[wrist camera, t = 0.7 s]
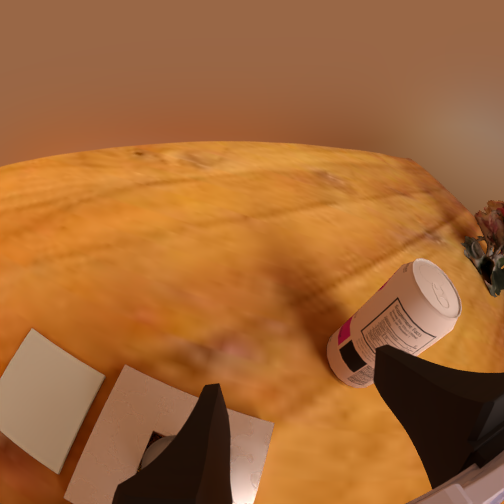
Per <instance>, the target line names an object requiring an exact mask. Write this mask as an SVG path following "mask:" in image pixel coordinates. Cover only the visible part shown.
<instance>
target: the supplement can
mask: <svg viewBox="0 0 504 504" xmlns="http://www.w3.org/2000/svg"><path fill="white" fill-rule="evenodd" d="M461 310H462V306H461V300H460V297H459V295H458V292H457V290H456V288H455V286H454V285H453V283H452V281H451V280H450V279H449V278H448V276H447V275H446V274H445V273H444V272H443V271H442V270H441V269H440V268H439V267H438V266H437V265H435V264H434V263H432V262H431V261H429V260H426V259H423V258H420V259H416V260H415V261H413V262H410V263H407V264H403V265H402V266H401V267H400V268H399V269H398V270H397V271H396V272H395V273H394V275H393V276H392V277H391V278H390V279H389V280H388V281H387V282H386V283H385V284H384V285H383V286H382V287H381V288H380V289H379V290H378V291H377V292H376V293H375V294H374V295H373V296H372V297H371V298H370V299H369V300H368V301H367V302H366V303H365V304H364V305H363V306H362V307H361V308H360V309H359V310H358V311H357V312H356V313H355V314H354V315H353V316H352V317H351V318H350V319H349V320H348V321H347V322H345V323H344V324H343V325H342V326H341V327H340V328H339V329H338V330H337V331H336V332H335V333H334V334H333V335H332V336H331V337H330V339H329V341H328V344H327V358H328V361H329V364H330V367H331V369H332V370H333V372H334V373H335V374H336V376H337V377H338V378H339V379H340V380H341V381H343V382H344V383H345V384H347V385H349V386H352V387H355V388H364V387H367V386H369V385H371V384H373V383H374V382H373V379H374V367H375V353H376V348H377V347H380V346H383V345H386V344H387V345H390V346H393V347H395V348H398V349H400V350H402V351H404V352H407V353H409V354H411V355H414V356H417V355H419V354H420V353H422V352H423V351H424V350H426V349H427V348H429V347H430V346H431V345H433V344H434V343H435V342H437V341H438V340H440V339H441V338H442V337H443V336H445V335H446V334H447V333H449V332H450V331H451V330H453V328H454V325H455V323H456V321H457V318H458V317H459V316H460V314H461Z"/></svg>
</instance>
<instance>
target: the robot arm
mask: <svg viewBox="0 0 504 504" xmlns="http://www.w3.org/2000/svg"><path fill="white" fill-rule="evenodd" d="M373 382H374V384H375V386H376V388H377V390H378V391H379V393H380V395H381V397H382V398H383V400H384V401H385V403H386V404H387V405H388V407H389V408H390V409H391V411H392V412H393V413H394V415H395V416H396V417H397V419H398V420H399V422H400V423H401V424H402V426H403V427H404V429H405V430H406V432H407V433H408V435H409V437H410V439H411V440H412V442H413V444H414V446H415V448H416V450H417V452H418V454H419V456H420V459H421V461H422V463H423V465H424V468H425V470H426V473H427V475H428V478H429V481H430V484H431V487H432V490H431V491H429V492H428V493H426V494H424V495H422V496H420V497H418V498H416V499H414V500H412V501H410V502H408V503H406V504H500V503H501V502H502V501H503V500H504V373H477V372H469V371H462V370H457V369H452V368H448V367H444V366H441V365H438V364H435V363H432V362H429V361H426V360H424V359H421V358H419V357H416V356H414V355H411V354H409V353H407V352H404V351H402V350H400V349H398V348H395V347H393V346H390V345H387V344H386V345H383V346H380V347H377V348H376V353H375V367H374V379H373ZM230 447H231V432H230V423H229V415H228V412H227V408H226V405H225V402H224V398H223V395H222V391H221V388H220V384H219V383H218V384H210V385H205V386H204V388H203V390H202V392H201V394H200V397H199V399H198V401H197V403H196V405H195V407H194V408H193V410H192V412H191V414H190V416H189V417H188V419H187V421H186V422H185V424H184V425H183V427H182V428H181V430H180V431H179V432H178V434H177V435H176V436H175V438H174V439H173V440H172V441H171V443H170V444H169V445H168V446H167V447H166V448H165V449H164V450H163V451H162V452H161V454H160V455H159V456H157V457H156V458H155V459H154V460H153V461H152V462H151V463H150V464H148V465H147V466H146V467H145V468H143V469H142V470H141V471H139V472H138V473H136V474H135V475H133V476H132V477H130V478H129V479H127V480H125V481H124V482H122V483H120V484H118V486H117V488H116V491H115V493H114V496H113V500H112V504H233V499H232V490H231V482H230Z"/></svg>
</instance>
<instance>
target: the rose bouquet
mask: <svg viewBox="0 0 504 504" xmlns="http://www.w3.org/2000/svg"><path fill="white" fill-rule="evenodd" d="M487 204H488V207H485V208H484V210H485V211H486V213H487V214H486V213H484V212H481V211H479V212H478V213H476V214H475V216H474V217H475V219H476V220H477V222H478V223H477V224H478V225H479V226H480V229H481V231H482V233H483V235H484V236H483V237H482V236H478V238H479V239H477V240H476V239H475V238H473V237H472V238H469V237H467V236H465V243H461V244H462V245H463V246H464V247H465V248H466V250H464V254H465V255H466V257H468V258H470V259H471V260H472V261H473V263H474V264H475V266H476V268H477V270H478V271H479V273H480V274H482V273H481V269H480V267H483V266H485V267H486V266H487V267H488V268H489V270H490V272H491V274H490V275H491V277H490V279H491V285H492V286H491V285H489V283H488V282H487V281H485V282H486V284H487V286H488V288H489V290H490V293H491V295H492V296H494V297H497V296H496V295H495V293H496V294H497V295H500V292H501V291H500V290H502V289H504V268H503V269H501V267H502V266H503V265H504V256H503V254H504V202H503V201H492V200H490V201H488V203H487ZM482 240H485V241H486V243H487V252H486V255H485V253H484V252H483V250H482V248H481V246H480V244H479V243H478V241H482ZM493 247H494V252H493V251H492V249H493ZM500 250H501V252H500V253H499V254H498V252H499V251H500ZM466 252H467V253H468V254H467V253H466Z"/></svg>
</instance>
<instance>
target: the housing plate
mask: <svg viewBox="0 0 504 504" xmlns="http://www.w3.org/2000/svg"><path fill="white" fill-rule="evenodd" d="M198 399H199V398H198V397H195V396H193V395H190V394H188V393H186V392H183V391H181V390H178V389H176V388H174V387H172V386H169V385H167V384H165V383H163V382H160V381H158V380H156V379H154V378H152V377H150V376H148V375H145V374H143V373H141V372H139V371H137V370H135V369H133V368H131V367H129V366H127V365H126V364H125V366H124V368H123V370H122V372H121V373H120V375H119V377H118V379H117V381H116V383H115V385H114V387H113V389H112V391H111V393H110V395H109V397H108V399H107V401H106V403H105V405H104V407H103V409H102V412H101V414H100V416H99V418H98V420H97V422H96V424H95V426H94V428H93V431H92V433H91V435H90V437H89V439H88V441H87V444H86V446H85V448H84V450H83V453H82V455H81V457H80V459H79V462H78V464H77V466H76V469H75V471H74V473H73V476H72V478H71V481H70V483H69V485H68V488H67V490H66V493H65V495H64V498H65V499H66V500H68V501H70V502H71V503H73V504H112V500H113V496H114V493H115V491H116V488H117V486H118V484H120V483H122V482H124V481H125V480H127V479H129V478H130V477H132V476H133V475H135V474H136V473H137V470H138V468H139V465H140V463H141V460H142V458H143V455H144V453H145V450H146V448H147V445H148V443H149V441H150V438H151V436H152V433H153V434H156V435H158V436H160V437H166V436H171V435H177V434H178V432H179V431H180V430H181V428H182V427H183V425H184V424H185V422H186V421H187V419H188V417H189V416H190V414H191V412H192V410H193V408H194V407H195V405H196V403H197V401H198ZM227 412H228V415H229V423H230V432H231V447H230V482H231V490H232V499H233V504H253V502H254V499H255V495H256V492H257V488H258V485H259V481H260V478H261V474H262V470H263V467H264V463H265V459H266V455H267V451H268V447H269V443H270V439H271V435H272V431H273V427H274V423H272V422H268V421H265V420H261V419H258V418H255V417H252V416H248V415H245V414H242V413H239V412H236V411H233V410H230V409H227Z"/></svg>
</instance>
